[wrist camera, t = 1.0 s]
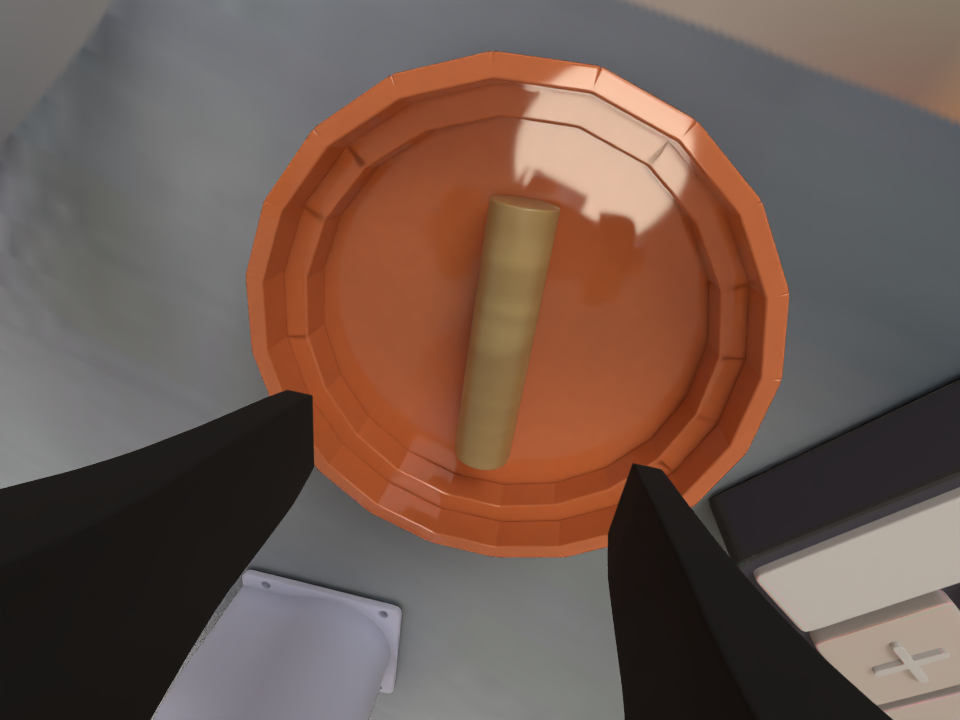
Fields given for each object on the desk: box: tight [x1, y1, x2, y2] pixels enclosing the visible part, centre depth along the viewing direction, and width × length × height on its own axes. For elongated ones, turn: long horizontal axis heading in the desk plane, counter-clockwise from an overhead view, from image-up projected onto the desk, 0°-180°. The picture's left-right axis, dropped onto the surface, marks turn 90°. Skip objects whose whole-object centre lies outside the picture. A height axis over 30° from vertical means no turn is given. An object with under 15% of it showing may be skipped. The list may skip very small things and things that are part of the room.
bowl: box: [246, 51, 789, 557], centre depth 17 cm, size 17×17×4 cm
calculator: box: [710, 380, 960, 720], centre depth 19 cm, size 11×4×15 cm
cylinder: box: [454, 195, 560, 470], centre depth 17 cm, size 10×2×2 cm, turn 172°
